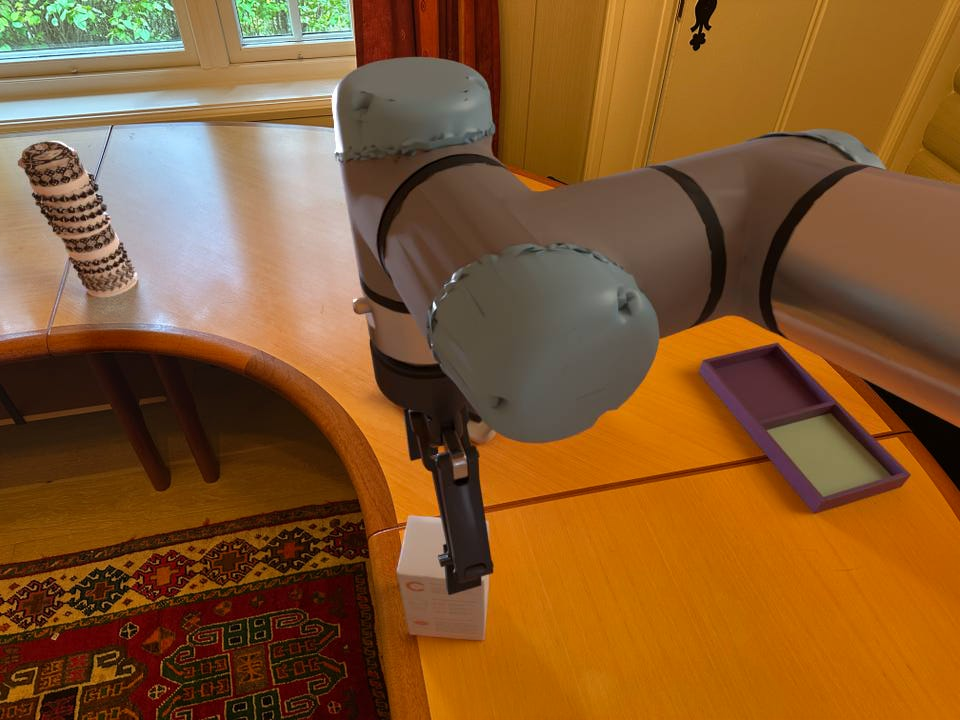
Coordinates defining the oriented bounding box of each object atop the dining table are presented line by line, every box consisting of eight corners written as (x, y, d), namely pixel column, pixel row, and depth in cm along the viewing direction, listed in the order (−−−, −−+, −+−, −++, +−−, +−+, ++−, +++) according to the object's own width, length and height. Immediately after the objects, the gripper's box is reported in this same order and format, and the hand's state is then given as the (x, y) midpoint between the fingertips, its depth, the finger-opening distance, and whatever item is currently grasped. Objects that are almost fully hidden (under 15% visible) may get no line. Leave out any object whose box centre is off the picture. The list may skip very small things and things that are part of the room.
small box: (489, 583, 67) (490, 519, 58) (485, 642, 62) (485, 582, 54) (417, 578, 68) (407, 513, 59) (407, 635, 63) (395, 575, 54)
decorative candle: (147, 284, 108) (85, 149, 91) (92, 305, 103) (15, 167, 86) (131, 262, 113) (69, 130, 96) (78, 281, 108) (2, 145, 91)
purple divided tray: (772, 354, 94) (777, 342, 93) (901, 487, 76) (911, 474, 75) (698, 372, 91) (702, 359, 90) (814, 514, 74) (822, 502, 72)
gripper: (341, 236, 46) (374, 420, 61) (414, 510, 29) (435, 673, 43) (437, 221, 47) (446, 403, 62) (560, 471, 30) (533, 641, 45)
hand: (442, 514), depth 53 cm, fingers open, 13 cm apart
